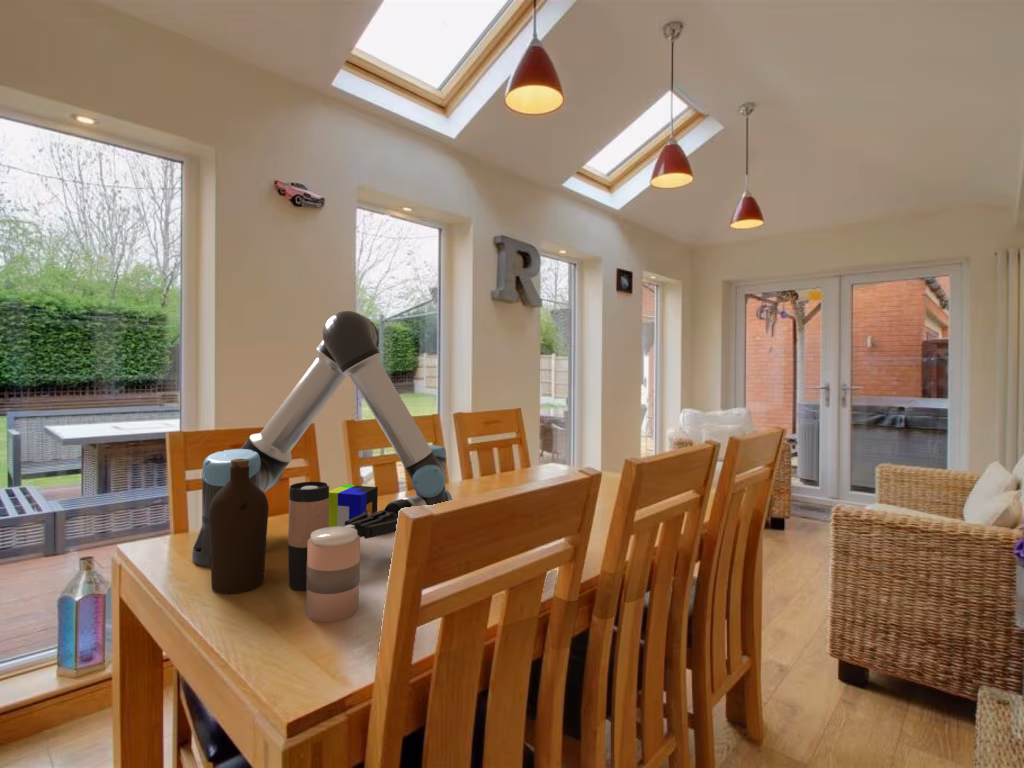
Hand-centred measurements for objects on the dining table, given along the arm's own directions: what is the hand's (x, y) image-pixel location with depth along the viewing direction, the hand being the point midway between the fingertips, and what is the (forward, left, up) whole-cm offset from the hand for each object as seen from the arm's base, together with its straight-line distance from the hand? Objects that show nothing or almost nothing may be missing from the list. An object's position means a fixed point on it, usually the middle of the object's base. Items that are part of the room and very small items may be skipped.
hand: (329, 538), depth 114 cm
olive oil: (-16, -4, -8) cm, 19 cm away
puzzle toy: (-3, +36, -8) cm, 37 cm away
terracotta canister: (+5, -16, -8) cm, 19 cm away
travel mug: (-3, -4, -8) cm, 10 cm away
